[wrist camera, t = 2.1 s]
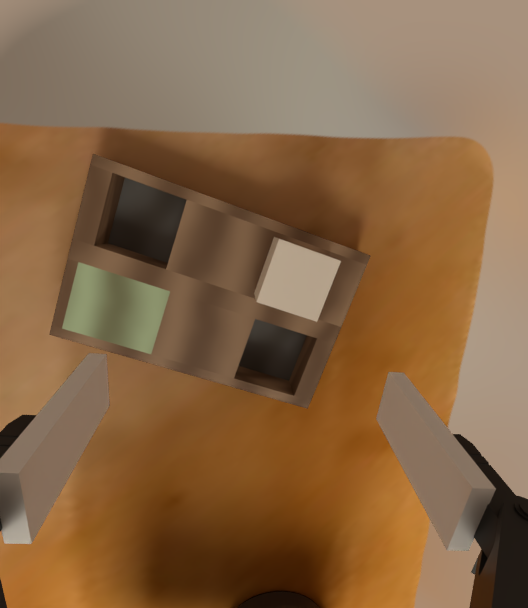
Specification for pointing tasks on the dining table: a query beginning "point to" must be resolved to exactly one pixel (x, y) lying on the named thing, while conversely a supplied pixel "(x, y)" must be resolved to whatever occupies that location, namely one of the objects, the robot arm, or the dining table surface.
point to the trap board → (193, 286)
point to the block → (296, 279)
